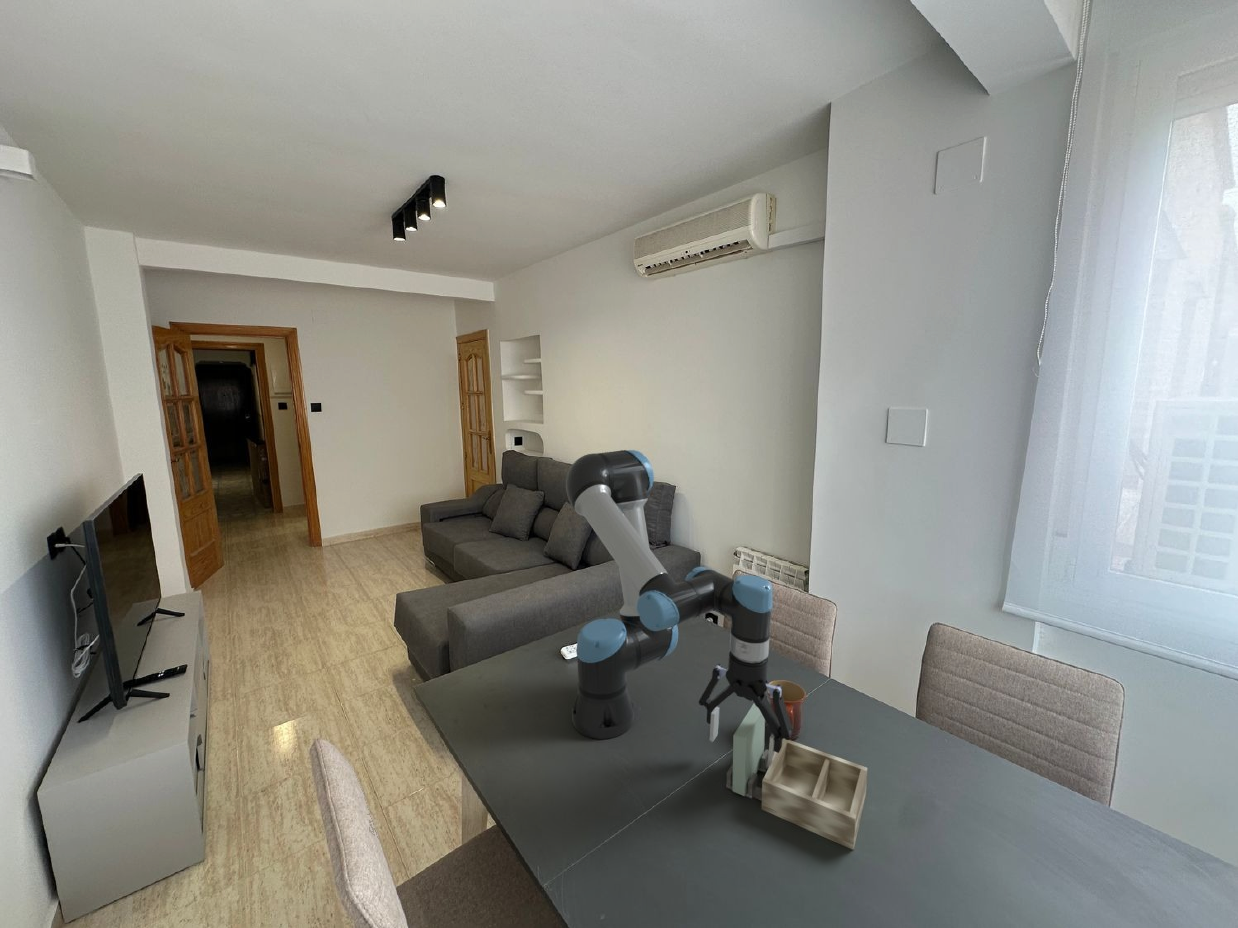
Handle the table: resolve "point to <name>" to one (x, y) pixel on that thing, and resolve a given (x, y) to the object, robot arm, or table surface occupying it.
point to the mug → (791, 703)
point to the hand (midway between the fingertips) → (741, 749)
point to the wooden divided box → (811, 791)
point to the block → (748, 749)
